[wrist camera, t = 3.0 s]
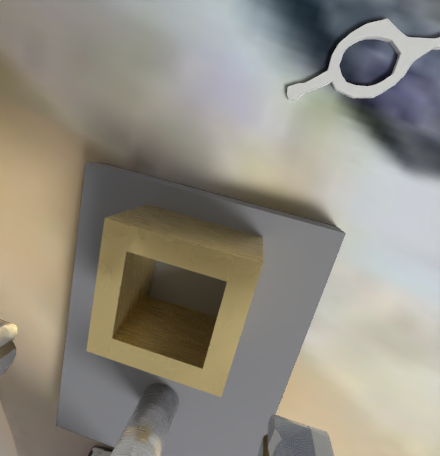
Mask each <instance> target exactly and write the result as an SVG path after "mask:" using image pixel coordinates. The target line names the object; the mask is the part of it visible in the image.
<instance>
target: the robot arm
mask: <svg viewBox="0 0 440 456" xmlns="http://www.w3.org/2000/svg"><path fill="white" fill-rule="evenodd" d="M16 336H17V326H15V325H14V324H12V323H9V322H7V321H4V320H1V319H0V376H1V375H2V374H3V373H5V371H6V370H7V369H8V368H9V366H10V365H11V364H12V362H13V360H14V357H15V355H16V347H15V345H14V343H13V341H12V340H13V339H14V338H15V337H16ZM258 456H334V453H333V449H332V445H331V441H330V437H329V435H328V434H327V432H325V431H322V430H319V429H316V428H313V427H310V426H307V425H304V424H301V423H298V422H295V421H292V420H289V419H286V418H283V417H280V416H277V415H274V414H272V416H271V417H270V419H269V422H268V434H266V435H265V436H263V438H262V441H261V444H260V448H259V453H258Z"/></svg>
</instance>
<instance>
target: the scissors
mask: <svg viewBox="0 0 440 456" xmlns="http://www.w3.org/2000/svg"><path fill="white" fill-rule="evenodd" d="M364 39H378V40H382V41H386V42H390V44H391V45H392V47H393V48H394V50H395V51H396V53H397V54H398V58H397V61H396V63H395V66H394V69H393V72H392V74H391V75H390V76H389V77H388V78H386V79H385V80H384V81H382V82H380V83H378V84H376V85H372V86H359V85H354V84H351V83H348V82H346V80H345V79H344V78H343V76H342V74H341V71H340V67H339V64H340V62H341V59H342V56H343V53H344V51H345V50H346V49H347V48H348V47H349V46H351V45H353V44H354V43H356V42H358V41H361V40H364ZM431 49H436V50H440V37H439V38H436V39H434V38H415V37H407V36H406V35H404V34H403V33H402V32H400V31H399V30H398V29H397V28H396V27H395V26H394V25H393V24H392V23H391V22H390V21H389V20H388V19H384V20H380V21H375V22H371V23H367V24H365V25H363V26H361V27H360V28H358V29H356V30H355V31H353V32H351V33H350V34H349V35H348V36H347V37H346V38H344V39H343V40H342V41H341V42H340V43H339V44H338V46H337V47H336V49H335V51H334V52H333V54H332V56H331V59H330V63H329V66H328V70H327V71H326V72H324V73H322V74H320V75H319V76H317V77H315V78H313V79H311V80H309V81H307V82H306V83H298V84H295V85H292V86H288V88H287V94H286V95H287V98H288V100H297V99H298V98H299V97H301V96H302V95H303V94H305V93H307V92H309V91H312V90H315V89H318V88H321V87H323V86H325V85H327V84H329V83H332V86H333V88H334V90H335V91H337V92H339V93H342V94H344V95H346V96H348V97H350V98H374V97H375V96H377V95H379V94H381V93H383V92H384V91H386V90H387V89H389V88H391V87H392V86H394V85H395V84H396V83H397V82H398V81H399V80H400V79H401V78H402V77H403V76H404V75H405V74H406V72H407V71H408V69H409V68H410V66H411V64H412V63H413V61H415V60H416V59H418V58H419V57H421V56H422V55H424V54H425V53H427V52H428V51H430V50H431Z"/></svg>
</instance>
